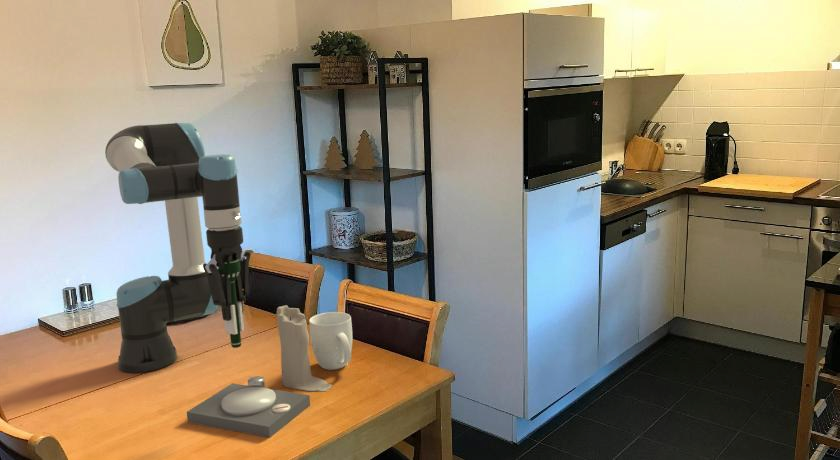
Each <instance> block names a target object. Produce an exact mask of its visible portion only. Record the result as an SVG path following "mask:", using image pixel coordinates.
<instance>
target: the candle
mask: <svg viewBox="0 0 840 460" xmlns="http://www.w3.org/2000/svg"><path fill="white" fill-rule="evenodd" d="M276 322H277V323H276V324H277V330H278V335H279V341H280V353H281V354H280V364H281V365H280V369H281V370H280V371H281V380H282V381H281V382H282V385H283V386H284V387H285V388H291V389H295V390H300V391H305V392H317V391H318V392H328V391H329V390H330V389H331V388H332V387H333V384H331V383H327V381H326V380H325V379H322V378H319V377H315V376H313V375H312V371H311V365H310V352H309V350H310V349H309V345H310V332H309V331H308V324H307V320H306V316H305V314H304V313H302V312H301V311H300V308H298V307H297V308H296V307H289V306H288V305H286V304H285V305H282V306H278V307H277V308H276Z"/></svg>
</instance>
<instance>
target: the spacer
mask: <svg viewBox="0 0 840 460" xmlns="http://www.w3.org/2000/svg"><path fill="white" fill-rule="evenodd" d="M265 383H266V382H265V377H264V376H260V375H259V376H258V375H257V376H255V375H254V376H251V377H249V378H248V379H247V386H254V387H263V388H266V384H265Z"/></svg>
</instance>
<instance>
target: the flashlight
mask: <svg viewBox="0 0 840 460" xmlns="http://www.w3.org/2000/svg"><path fill="white" fill-rule="evenodd" d="M228 268H229V273H230V274H229V275H228V278H229V279H230V280H231V298H232V305H235V313H236V322H237V332H238V333H237V334H229V338H230V339H229V340H230V345H231V348H234V349H236V348H237V349H238V348H241V346H242V335H241V331H240V326H239V316H238V306H237V297H236V287H235V280H236V278H237V276H238V275H239V272H240V260H239V258H238V259H236V260H232V261H230V263H229V264H228ZM218 271H219V274H220V276H224V275H226V273H227V261H225V268H224V269H218Z"/></svg>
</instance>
